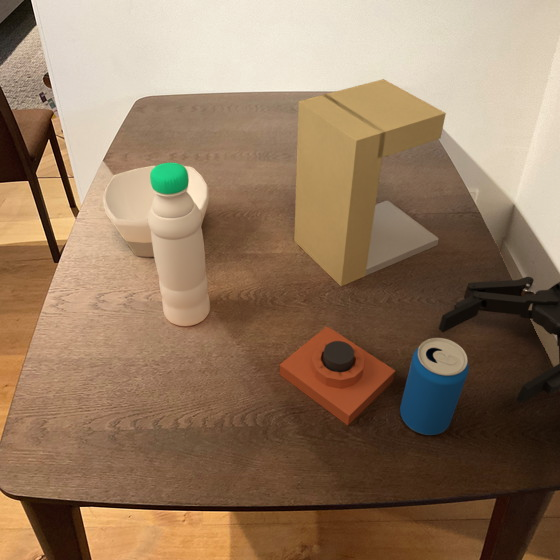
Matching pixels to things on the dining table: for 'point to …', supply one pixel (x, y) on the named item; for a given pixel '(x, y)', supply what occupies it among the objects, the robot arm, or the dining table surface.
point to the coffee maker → (357, 177)
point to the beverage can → (434, 386)
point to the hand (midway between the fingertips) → (479, 357)
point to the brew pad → (337, 377)
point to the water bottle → (178, 246)
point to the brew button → (338, 356)
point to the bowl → (143, 205)
